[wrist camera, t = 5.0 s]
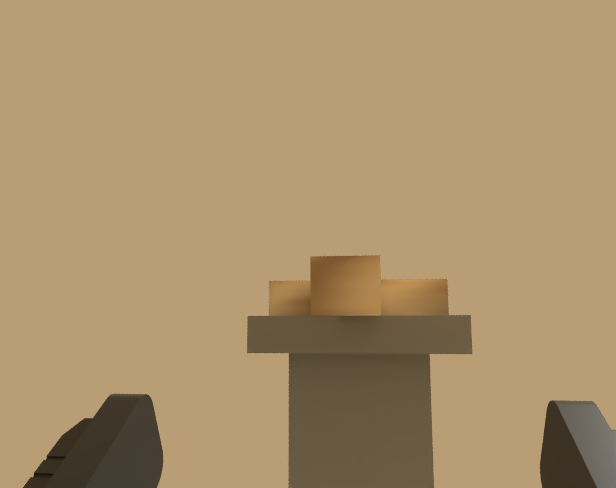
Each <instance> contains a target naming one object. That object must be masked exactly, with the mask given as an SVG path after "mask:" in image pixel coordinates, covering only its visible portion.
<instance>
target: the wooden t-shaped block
mask: <svg viewBox="0 0 616 488" xmlns="http://www.w3.org/2000/svg"><path fill="white" fill-rule="evenodd" d="M447 288H448V287H447V279H406V280H381V277H380V256H326V257H325V256H323V257H321V256H320V257H311V281H269V316H433V315H449V314H448V289H447Z"/></svg>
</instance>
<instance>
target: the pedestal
mask: <svg viewBox="0 0 616 488" xmlns="http://www.w3.org/2000/svg"><path fill="white" fill-rule="evenodd" d="M247 333H248V336H247V353H289V488H434V480H433V479H434V477H433V447H432V417H431V387H430V356H429V354H472V339H471V316H470V315H463V316H462V315H433V316H248V332H247Z"/></svg>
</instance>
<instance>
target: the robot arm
mask: <svg viewBox="0 0 616 488" xmlns="http://www.w3.org/2000/svg"><path fill="white" fill-rule="evenodd" d="M162 467H163V451H162V445H161V441H160V436H159V431H158V426H157V422H156V417H155V412H154V407H153V403H152V400H151V398H150V396H149V395H146V394H112V395H110V396H109V397H108V398H107V399H106V401H105V402H104V403H103V405H102V406H101V408H100V409H99V410H98V412H97V413H96V415H95V416H94V418H93V419H92V418H85V419H83V420H82V421H80V422H79V423H78V424H77V425H75V426H74V427H73V428H71V429H70V430H69V431H68V432H66V433H65V434H63V435H62V436H61V438H60V439H59V440H58V442H57V443H56V444H55V446H54V447H53V448H52V450H51V451H50V452H49V454H48V455H47V459H46V460H43V462H42V463H41V464H40V466H39V467H38V469H37V470H36V471H35V472H34V477H31V478H30V479H29V480H28V482H27V483H26V484H25V486H24V487H23V488H157V485H158V483H159V480H160V477H161V473H162ZM540 474H541V483H542V488H616V430H611V429H610V427H609V426H608V424H607V422H606V420H605V418H604V417H603V415H602V414H601V412H600V410H599V408H598V407H597V405H596V404H595V403H594V402H592V401H550V402H549V404H548V407H547V413H546V421H545V428H544V436H543V444H542V452H541V461H540Z"/></svg>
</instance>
